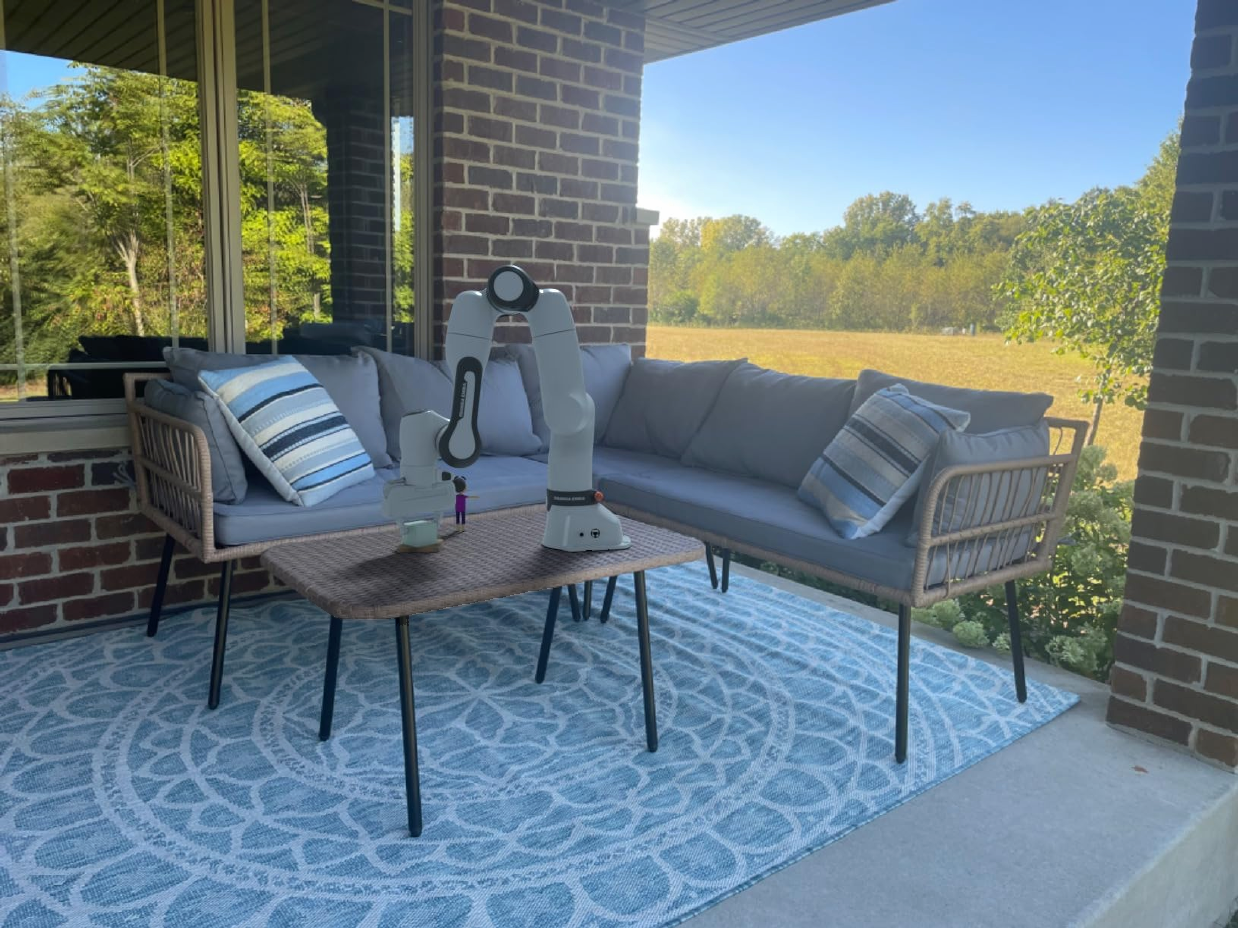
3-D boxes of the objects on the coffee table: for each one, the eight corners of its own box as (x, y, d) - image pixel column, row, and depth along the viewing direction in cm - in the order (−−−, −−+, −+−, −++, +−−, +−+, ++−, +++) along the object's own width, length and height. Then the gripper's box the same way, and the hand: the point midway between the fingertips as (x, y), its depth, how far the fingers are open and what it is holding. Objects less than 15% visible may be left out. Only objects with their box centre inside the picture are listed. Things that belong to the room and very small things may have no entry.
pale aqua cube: (422, 539, 225) (421, 520, 224) (437, 543, 221) (436, 523, 220) (402, 543, 220) (401, 523, 220) (416, 547, 216) (416, 527, 216)
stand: (443, 543, 226) (442, 523, 225) (438, 551, 216) (438, 531, 215) (402, 543, 225) (402, 524, 224) (396, 552, 215) (396, 532, 215)
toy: (481, 530, 242) (480, 475, 240) (475, 534, 237) (474, 478, 235) (444, 528, 243) (443, 474, 242) (437, 533, 238) (436, 477, 236)
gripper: (391, 481, 208) (392, 539, 210) (459, 472, 224) (460, 527, 226) (375, 478, 212) (376, 536, 214) (443, 470, 228) (444, 523, 230)
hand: (420, 531), depth 220 cm, fingers open, 8 cm apart
